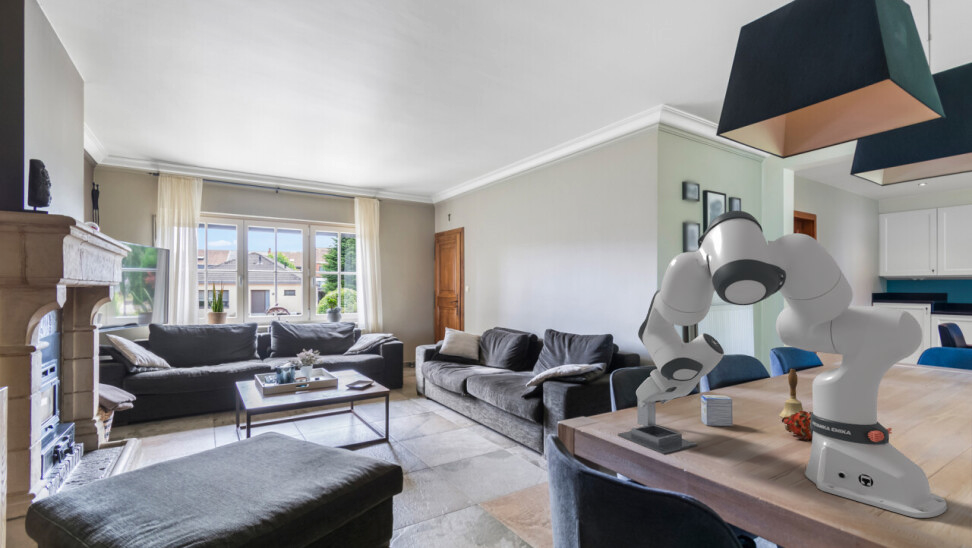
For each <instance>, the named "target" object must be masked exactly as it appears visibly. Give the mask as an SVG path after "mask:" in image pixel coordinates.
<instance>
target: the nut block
mask: <svg viewBox="0 0 972 548" xmlns="http://www.w3.org/2000/svg"><path fill="white" fill-rule="evenodd" d="M636 397H637V396H636ZM639 401H640V400H639V398H638V397H637V424H639V425H641V426H648V425H653V424H654V425H657V424H656V421H657V420H656V416H657V415H656V413H657V412H656V401H652V402H647V405H646V406H645V407H640V406H639V404H638V402H639Z"/></svg>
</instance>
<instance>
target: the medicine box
mask: <svg viewBox="0 0 972 548" xmlns="http://www.w3.org/2000/svg"><path fill="white" fill-rule="evenodd" d="M700 402H701V403H700V405H701V406H700V407H701V410H700V411H701V413H700V414H701V416H700V417H701V422H702V423H703V424H704V426H709V427H712V426H713V427H716V426H717V427H733V425H734V424H733V418H734V416H733V399H732V398H731V397H729V396H727V395H722V394H720V395H719V394H717V395H716V394H715V395H713V394H701V395H700Z"/></svg>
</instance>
